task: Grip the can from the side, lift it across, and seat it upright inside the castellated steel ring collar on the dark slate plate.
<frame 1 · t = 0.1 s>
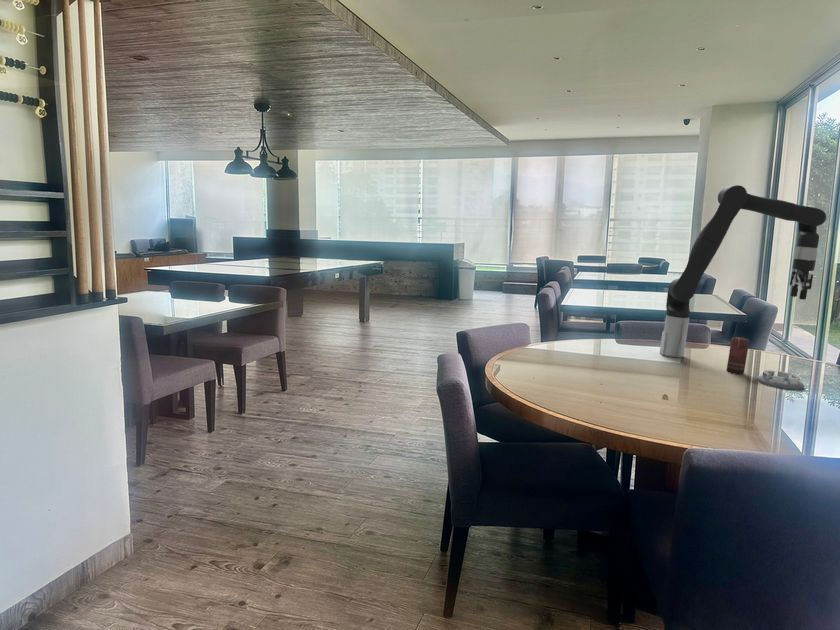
hand: (797, 297, 236), 29 cm above the table, tool pointing down, fingers open, 8 cm apart
slate plate: (779, 383, 213), on the table
ring collar: (780, 377, 213), on the slate plate, point 2 cm above the table
can: (734, 372, 226), on the table
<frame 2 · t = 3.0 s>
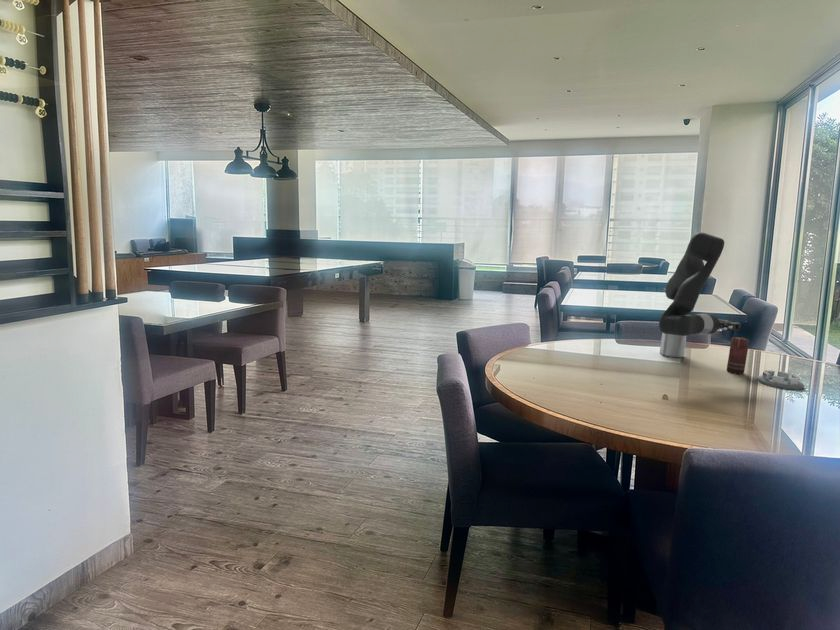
hand: (727, 323, 218), 20 cm above the table, tool horizontal, fingers open, 8 cm apart
nothing on the table moved.
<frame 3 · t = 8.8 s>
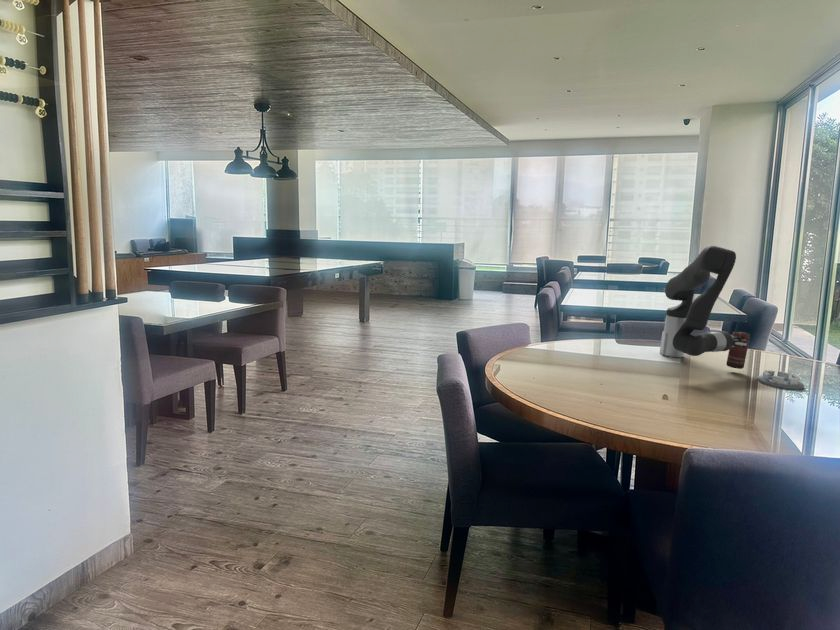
hand: (744, 339, 225), 13 cm above the table, tool horizontal, fingers closed
can: (734, 367, 226), point 2 cm above the table, touching gripper, hand
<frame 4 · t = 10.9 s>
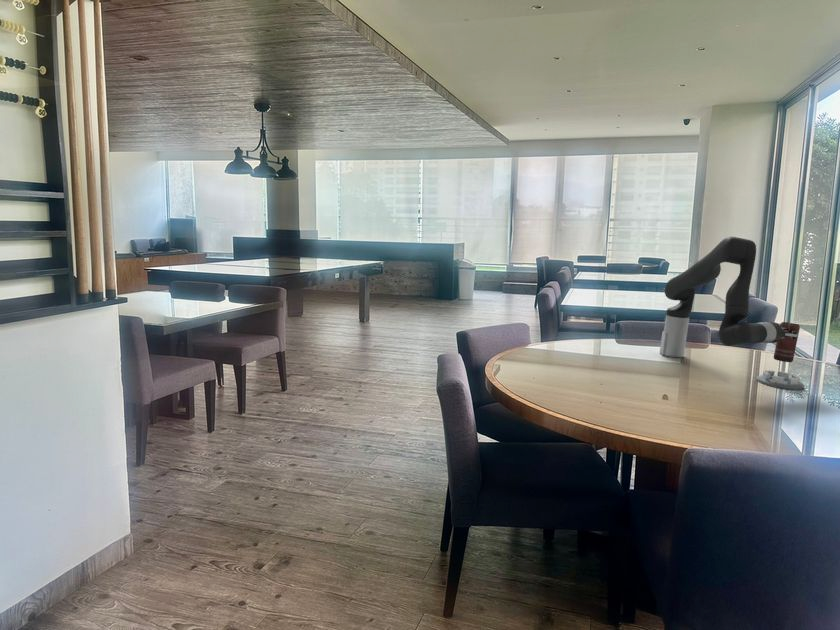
hand: (793, 331, 211), 20 cm above the table, tool horizontal, fingers closed
can: (782, 361, 211), point 9 cm above the table, touching gripper, hand
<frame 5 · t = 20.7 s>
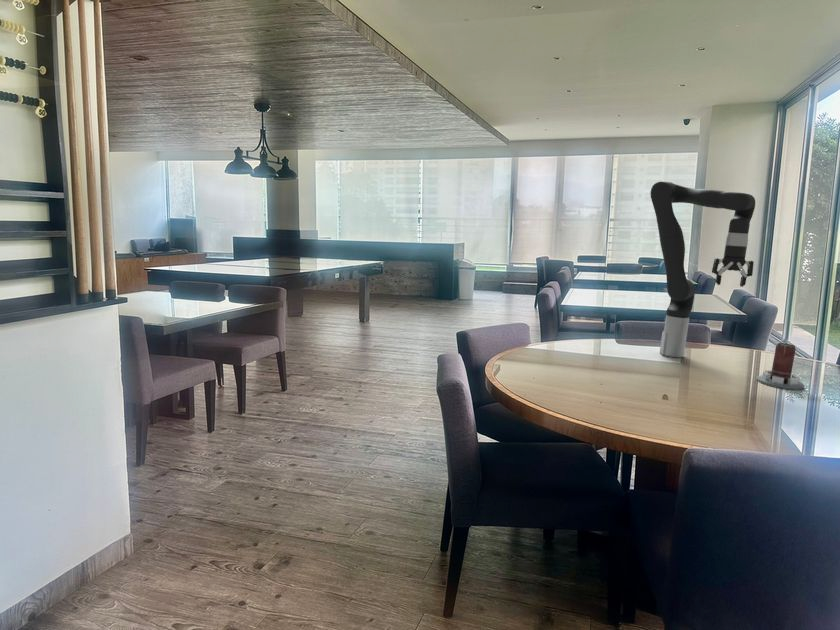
hand: (729, 285, 230), 33 cm above the table, tool pointing down, fingers open, 8 cm apart
can: (779, 382, 212), point 1 cm above the table, touching slate plate
at the end: can 1.0 cm off-centre on the ring collar, point 0.8 cm above the ring collar's base; can tilted 0°; the gripper is holding nothing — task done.
